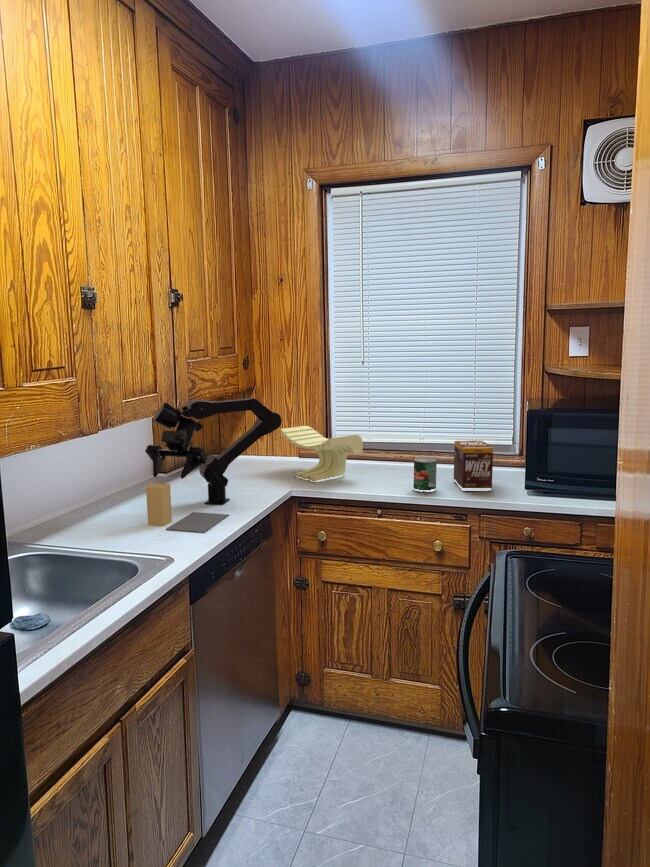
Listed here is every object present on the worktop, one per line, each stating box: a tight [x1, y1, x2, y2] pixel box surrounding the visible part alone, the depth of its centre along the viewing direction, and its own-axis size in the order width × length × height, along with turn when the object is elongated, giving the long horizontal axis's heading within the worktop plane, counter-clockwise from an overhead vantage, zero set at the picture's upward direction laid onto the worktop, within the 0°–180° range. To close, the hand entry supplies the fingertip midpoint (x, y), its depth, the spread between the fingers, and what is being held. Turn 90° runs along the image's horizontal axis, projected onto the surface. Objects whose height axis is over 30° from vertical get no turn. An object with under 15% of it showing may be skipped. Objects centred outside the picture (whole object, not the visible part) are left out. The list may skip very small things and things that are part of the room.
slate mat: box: [165, 511, 230, 534], centre depth 185 cm, size 17×12×1 cm
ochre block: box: [145, 482, 173, 527], centre depth 184 cm, size 5×5×12 cm
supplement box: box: [453, 440, 494, 489], centre depth 224 cm, size 10×15×16 cm
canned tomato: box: [413, 456, 438, 490], centre depth 220 cm, size 8×8×11 cm
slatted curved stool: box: [280, 425, 364, 481], centre depth 241 cm, size 30×16×18 cm, turn 40°
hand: (167, 477), depth 189 cm, fingers open, 9 cm apart
